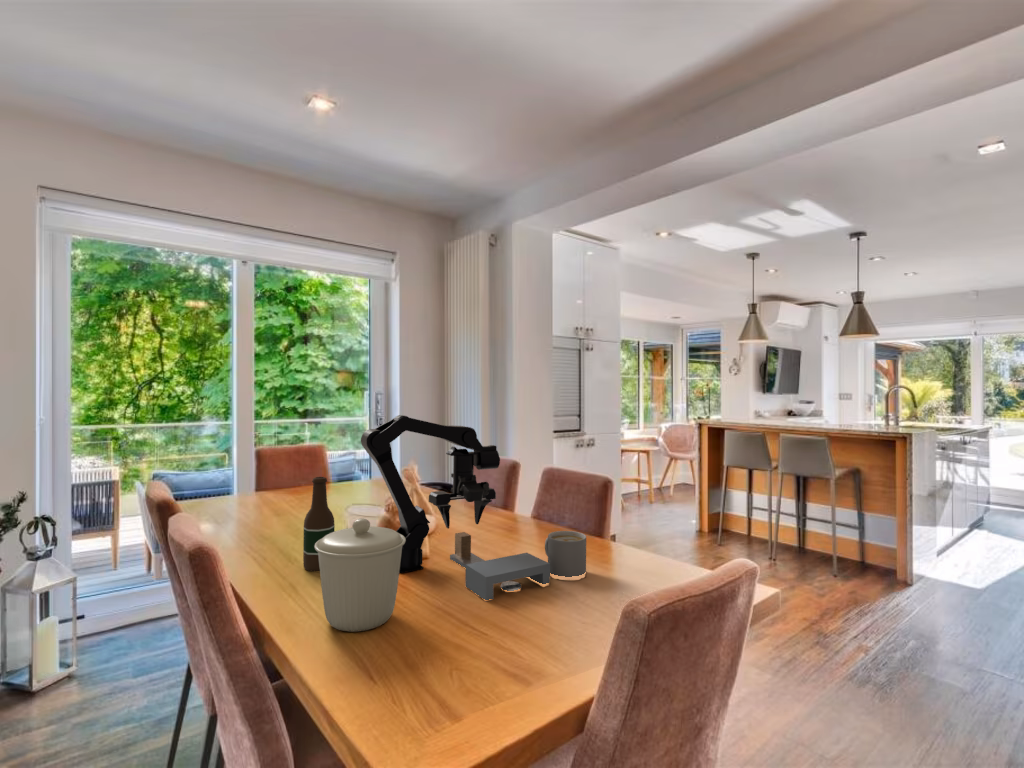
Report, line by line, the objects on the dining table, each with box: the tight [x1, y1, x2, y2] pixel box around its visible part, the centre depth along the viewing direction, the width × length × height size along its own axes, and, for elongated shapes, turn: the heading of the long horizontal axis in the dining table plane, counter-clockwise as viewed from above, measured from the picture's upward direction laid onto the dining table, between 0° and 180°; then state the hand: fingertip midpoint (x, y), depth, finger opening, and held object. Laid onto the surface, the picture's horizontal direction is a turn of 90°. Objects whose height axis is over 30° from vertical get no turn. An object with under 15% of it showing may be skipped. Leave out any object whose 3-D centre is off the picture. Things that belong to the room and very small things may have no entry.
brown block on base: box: [449, 531, 486, 569], centre depth 142 cm, size 6×18×7 cm, turn 32°
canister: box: [315, 517, 406, 633], centre depth 109 cm, size 18×18×21 cm
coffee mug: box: [544, 530, 587, 577], centre depth 138 cm, size 13×10×10 cm
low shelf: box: [464, 552, 551, 600], centre depth 128 cm, size 18×10×6 cm, turn 122°
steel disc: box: [500, 580, 522, 591], centre depth 127 cm, size 5×5×1 cm
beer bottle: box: [302, 476, 336, 572], centre depth 141 cm, size 8×8×24 cm
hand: (462, 526), depth 148 cm, fingers open, 9 cm apart
